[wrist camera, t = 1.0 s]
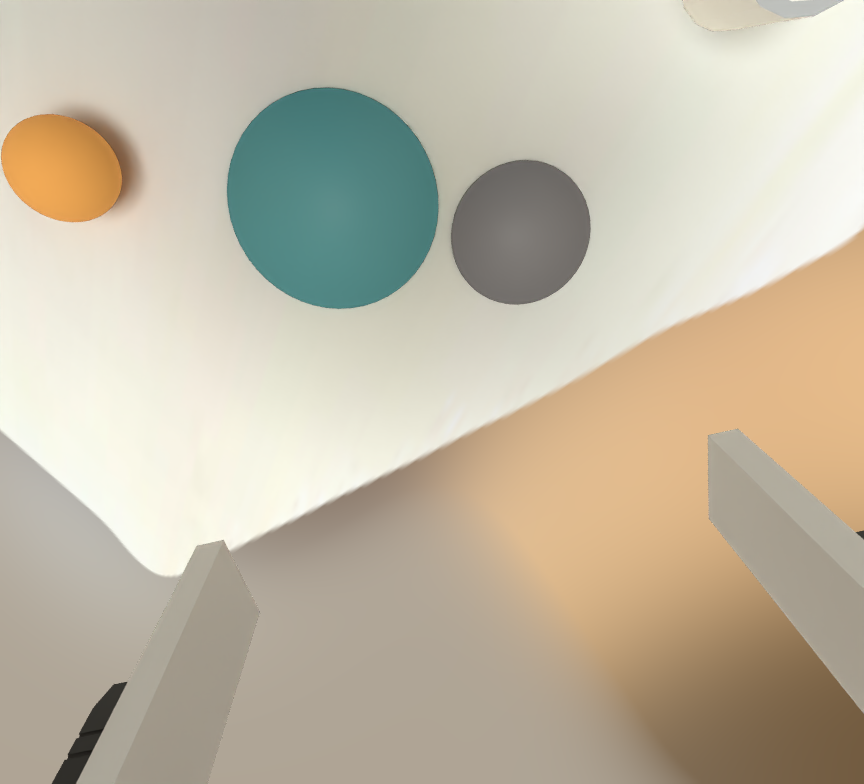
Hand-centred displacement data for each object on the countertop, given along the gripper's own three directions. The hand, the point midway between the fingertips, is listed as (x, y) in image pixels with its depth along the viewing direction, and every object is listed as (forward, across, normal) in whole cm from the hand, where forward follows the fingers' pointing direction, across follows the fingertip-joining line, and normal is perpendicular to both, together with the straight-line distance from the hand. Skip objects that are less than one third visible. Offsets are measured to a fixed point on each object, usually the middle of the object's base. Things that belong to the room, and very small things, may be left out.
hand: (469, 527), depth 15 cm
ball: (+22, -18, +12) cm, 31 cm away
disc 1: (+24, -5, +7) cm, 26 cm away
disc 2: (+24, +6, +2) cm, 25 cm away
